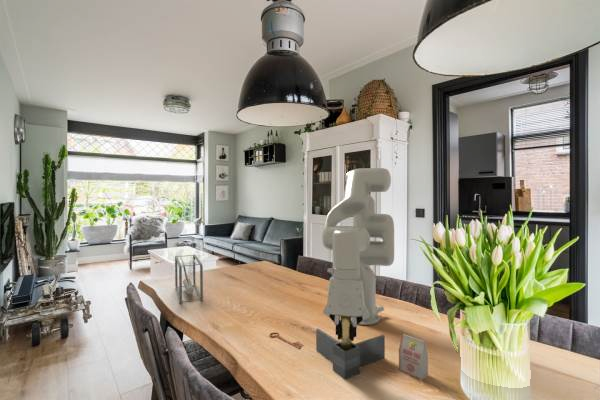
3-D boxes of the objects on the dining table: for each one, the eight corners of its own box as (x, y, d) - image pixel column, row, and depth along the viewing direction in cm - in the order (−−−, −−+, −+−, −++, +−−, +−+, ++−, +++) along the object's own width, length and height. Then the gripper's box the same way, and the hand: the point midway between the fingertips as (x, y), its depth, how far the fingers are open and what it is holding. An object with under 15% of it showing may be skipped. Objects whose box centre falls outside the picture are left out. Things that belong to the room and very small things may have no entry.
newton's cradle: (203, 301, 150) (202, 264, 149) (179, 304, 145) (179, 266, 145) (195, 284, 177) (194, 253, 177) (175, 287, 172) (174, 255, 172)
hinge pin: (347, 352, 92) (347, 304, 92) (356, 358, 88) (356, 309, 88) (336, 356, 90) (336, 307, 90) (344, 362, 86) (344, 311, 86)
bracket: (352, 339, 110) (352, 317, 109) (390, 361, 95) (390, 337, 94) (310, 352, 101) (310, 328, 101) (344, 379, 86) (344, 352, 86)
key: (308, 347, 106) (279, 332, 117) (308, 344, 106) (280, 329, 117) (295, 351, 102) (267, 335, 113) (295, 348, 102) (267, 333, 113)
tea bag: (405, 365, 93) (405, 331, 93) (427, 375, 88) (428, 339, 88) (398, 370, 90) (398, 335, 90) (421, 380, 85) (421, 343, 85)
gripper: (314, 274, 87) (315, 341, 87) (375, 278, 83) (375, 347, 83) (319, 268, 95) (320, 329, 95) (375, 271, 91) (375, 335, 91)
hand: (346, 337), depth 89 cm, fingers closed on hinge pin, 3 cm apart
